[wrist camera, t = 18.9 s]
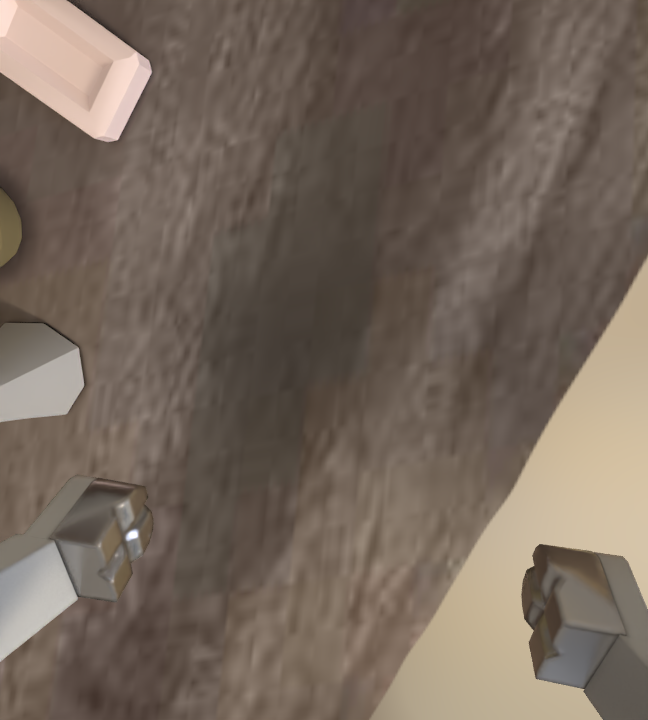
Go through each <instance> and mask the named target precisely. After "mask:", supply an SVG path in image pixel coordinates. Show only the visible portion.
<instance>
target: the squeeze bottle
mask: <svg viewBox="0 0 648 720" xmlns="http://www.w3.org/2000/svg"><path fill="white" fill-rule="evenodd" d="M21 240H22V226H21V219H20V216H19V214H18V211H17V209H16V206H15V204H14V202H13V201H12V200H11V199H10V198H9V196H8V195H7V194H6V193H5V192H4V191H3V189H2V188H0V267H2V266H3V265H4V264H5V263H6V262H8V261H9V260H10V259H11V258H12V257H13V256H14V255H15V254H16V253H17V250H18V248H19V245H20V242H21Z"/></svg>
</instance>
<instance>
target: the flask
mask: <svg viewBox="0 0 648 720" xmlns="http://www.w3.org/2000/svg"><path fill="white" fill-rule="evenodd" d="M83 387H84V380H83V373H82V367H81V360H80V354H79V347H77V346H76V345H74V344H73V343H71V342H70V341H68V340H67V339H66V338H64V337H63V336H61V335H60V334H58V333H57V332H55V331H54V330H53V329H51V328H50V327H48V326H47V325H45V324H44V323H4V324H3V325H2V327H1V328H0V422H3V421H10V420H18V419H25V418H35V417H46V416H57V415H64V414H67V413H68V411H69V410H70V408H71V406H72V405H73V403H74V402H75V400H76V398H77V397H78V395H79V393H80V392H81V390H82V389H83Z"/></svg>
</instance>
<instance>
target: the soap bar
mask: <svg viewBox="0 0 648 720" xmlns="http://www.w3.org/2000/svg"><path fill="white" fill-rule="evenodd" d="M0 72H1V73H2V74H4V75H5V76H6V77H8V78H9V79H11V80H12V81H14V82H15V83H16V84H18V85H19V86H21V87H22V88H23V89H25V90H26V91H28V92H29V93H31V94H32V95H33V96H35V97H36V98H38V99H39V100H40V101H42V102H43V103H45V104H46V105H48V106H49V107H50V108H52V109H53V110H55V111H56V112H58V113H59V114H60V115H62V116H63V117H65V118H66V119H67V120H69V121H70V122H72V123H73V124H75V125H76V126H77V127H79V128H80V129H82V130H83V131H84V132H86V133H87V134H89V135H90V136H92V137H93V138H95V139H99V140H102V141H106V142H111V141H116V140H118V139H119V137H120V135H121V133H122V131H123V129H124V127H125V125H126V123H127V121H128V119H129V117H130V115H131V113H132V111H133V109H134V107H135V105H136V103H137V101H138V99H139V97H140V95H141V93H142V91H143V89H144V87H145V85H146V83H147V81H148V79H149V77H150V75H151V73H152V71H151V66H150V62H149V60H148V59H146V58H145V57H143V56H142V55H141V54H139V53H138V52H137V51H135V50H134V49H133V48H131V47H130V46H128V45H127V44H126V43H124V42H123V41H122V40H120V39H119V38H118V37H116V36H115V35H114V34H112V33H111V32H109V31H108V30H107V29H105V28H104V27H103V26H101V25H100V24H99V23H97V22H96V21H94V20H93V19H92V18H90V17H89V16H88V15H86V14H85V13H84V12H82V11H81V10H79V9H78V8H77V7H75V6H74V5H73V4H71V3H70V2H69V1H67V0H0Z"/></svg>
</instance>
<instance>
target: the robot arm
mask: <svg viewBox="0 0 648 720" xmlns="http://www.w3.org/2000/svg"><path fill="white" fill-rule="evenodd" d="M147 499H148V494H147V491H146V487H145V486H141V485H136V484H130V483H125V482H119V481H113V480H108V479H102V478H96V477H90V476H84V475H75V476H74V477H72V478H70V479H69V480H68V481H67V482H66V484H65V485H64V486H63V487H62V488H61V490H60V491H59V492H58V493H57V494H56V496H55V497H54V498H53V499H52V501H51V502H50V503H49V504H48V505H47V507H46V508H45V509H44V510H43V511H42V513H41V514H40V515H39V516H38V517H37V519H36V520H35V521H34V522H33V524H32V525H31V526H30V527H29V528H28V530H27V531H26V532H25V533H24V534H23V535H22V534H15V535H14V536H12V537H10V538H8V539H6V540H4V541H3V542H1V543H0V661H2V660H3V659H4V658H5V657H7V656H8V655H9V654H10V653H12V652H13V651H14V650H15V649H16V648H18V647H19V646H20V645H21V644H23V643H24V642H25V641H26V640H28V639H29V638H30V637H31V636H33V635H34V634H35V633H36V632H38V631H39V630H40V629H41V628H43V627H44V626H45V625H46V624H48V623H49V622H50V621H51V620H53V619H54V618H55V617H56V616H58V615H59V614H60V613H61V612H63V611H64V610H65V609H66V608H68V607H69V606H70V605H71V604H73V603H74V602H75V601H76V600H78V597H84V598H90V599H97V600H104V601H110V602H117V601H118V599H119V597H120V596H121V594H122V592H123V590H124V588H125V587H126V585H127V583H128V581H129V579H130V578H131V576H132V574H133V572H132V566H131V563H132V562H133V561H135V560H136V559H138V558H139V557H141V556H142V555H143V554H144V552H145V550H146V548H147V546H148V544H149V542H150V539H151V535H152V532H153V515H152V511H151V510H150V509H149V508H148V507H147V506H146V505H145V502H146V500H147ZM533 561H534V566H533V567H531V568H530V569H528V570H527V571H526V574H525V576H524V579H523V585H522V607H523V613H524V619H525V620H526V622H527V623H528V624H529V625H530V626H531V628H532V629H533V630H534V632H533V634H532V636H531V639H530V641H529V646H530V651H531V657H532V662H533V667H534V672H535V677H536V679H539V680H544V681H549V682H553V683H558V684H563V685H568V686H573V687H577V688H582V689H585V690H584V693H585V694H586V696H587V697H588V699H589V700H590V701H591V703H592V704H593V706H594V707H595V708H596V710H597V712H598V713H599V715H600V716H601V717H602V719H603V720H648V609H647V607H646V604H645V602H644V599H643V597H642V595H641V592H640V590H639V587H638V585H637V583H636V580H635V578H634V575H633V573H632V571H631V568H630V566H629V563H628V561H627V560H626V559H625V558H624V557H623V556H617V555H610V554H603V553H596V552H592V551H586V550H579V549H571V548H564V547H557V546H549V545H542V544H539V545H538V546H537V547H536V548H535V551H534V553H533Z"/></svg>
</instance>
